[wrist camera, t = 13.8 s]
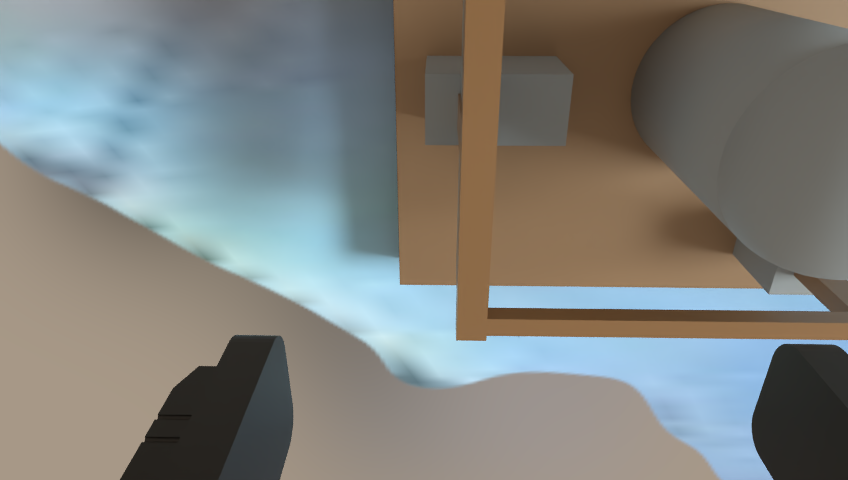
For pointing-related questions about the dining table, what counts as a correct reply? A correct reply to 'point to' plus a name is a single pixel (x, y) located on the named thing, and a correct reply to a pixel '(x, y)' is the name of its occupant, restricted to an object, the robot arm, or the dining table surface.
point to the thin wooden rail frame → (480, 321)
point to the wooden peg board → (635, 143)
